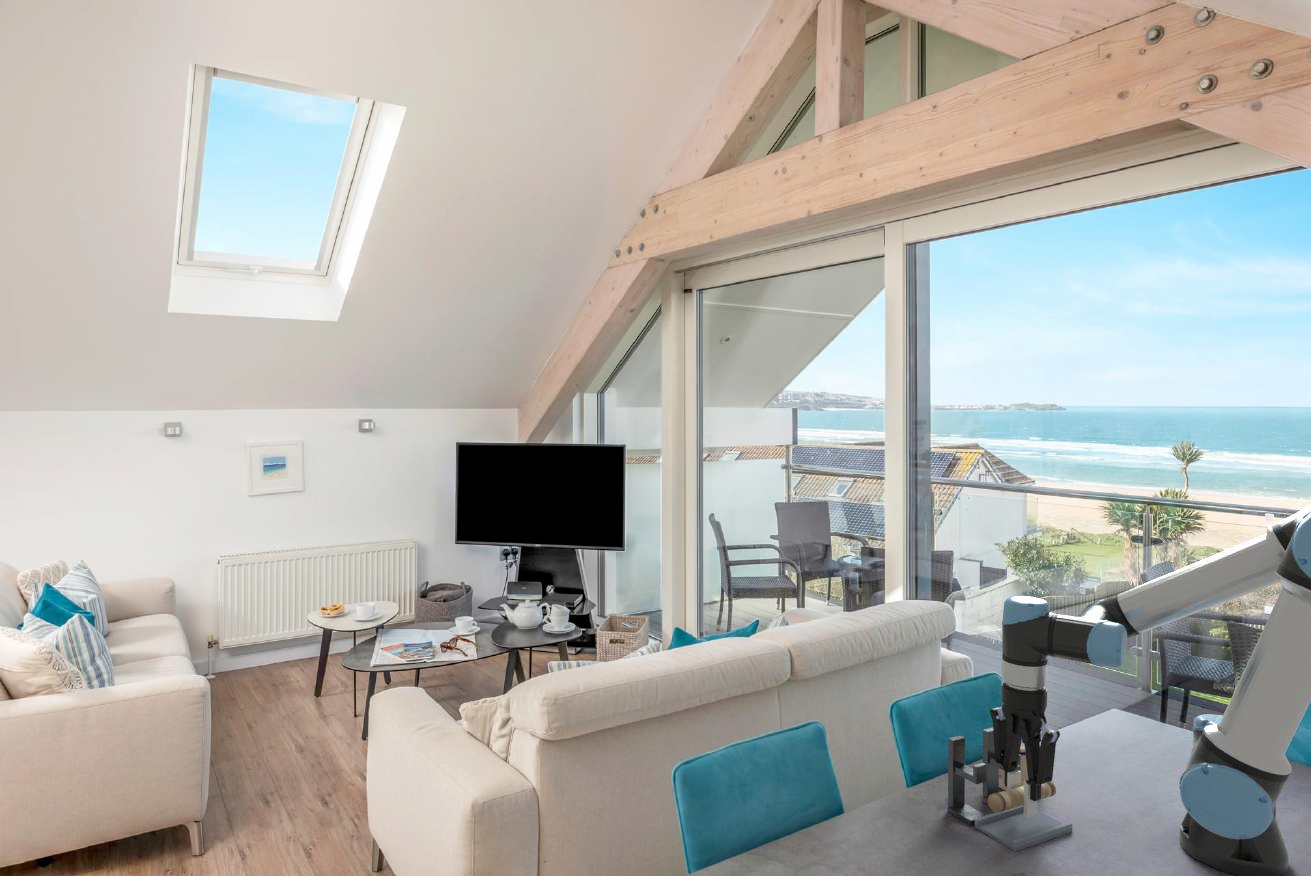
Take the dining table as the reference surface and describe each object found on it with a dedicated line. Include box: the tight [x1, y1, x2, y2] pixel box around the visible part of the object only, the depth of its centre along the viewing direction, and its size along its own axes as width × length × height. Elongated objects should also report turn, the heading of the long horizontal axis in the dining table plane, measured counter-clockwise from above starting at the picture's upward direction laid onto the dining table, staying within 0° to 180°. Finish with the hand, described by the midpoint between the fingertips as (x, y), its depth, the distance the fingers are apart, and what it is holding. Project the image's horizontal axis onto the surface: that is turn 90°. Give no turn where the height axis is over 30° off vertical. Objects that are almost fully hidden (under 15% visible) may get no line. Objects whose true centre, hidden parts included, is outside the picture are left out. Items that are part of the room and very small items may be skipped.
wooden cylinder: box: [988, 780, 1057, 813], centre depth 147 cm, size 14×3×3 cm, turn 116°
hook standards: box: [947, 726, 1021, 827], centre depth 154 cm, size 6×13×14 cm, turn 116°
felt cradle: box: [974, 805, 1073, 852], centre depth 147 cm, size 9×14×2 cm, turn 116°
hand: (1022, 810), depth 147 cm, fingers closed on wooden cylinder, 3 cm apart
